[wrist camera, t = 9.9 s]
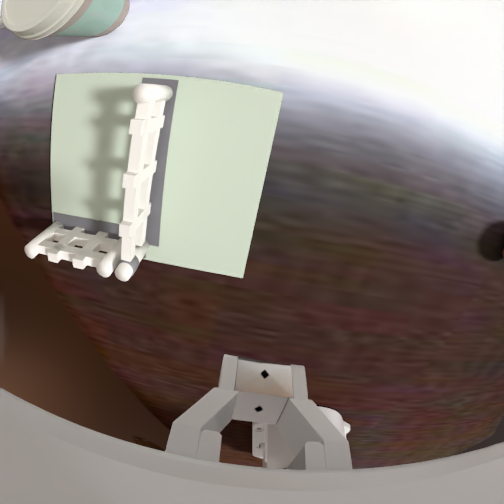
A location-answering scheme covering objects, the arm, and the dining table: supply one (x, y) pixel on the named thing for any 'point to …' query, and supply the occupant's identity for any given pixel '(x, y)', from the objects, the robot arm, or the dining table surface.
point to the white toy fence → (140, 174)
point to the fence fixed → (77, 255)
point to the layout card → (166, 164)
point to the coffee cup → (63, 17)
